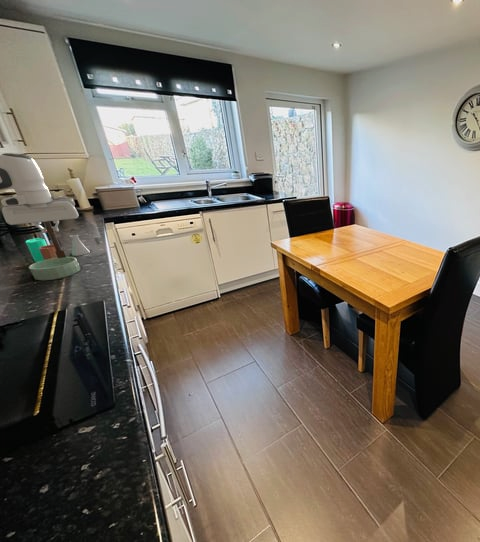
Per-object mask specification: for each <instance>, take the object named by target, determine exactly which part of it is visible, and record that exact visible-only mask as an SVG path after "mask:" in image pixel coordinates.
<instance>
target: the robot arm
mask: <svg viewBox="0 0 480 542" xmlns="http://www.w3.org/2000/svg"><path fill="white" fill-rule="evenodd" d="M5 190H6V191H7V190H14V193H15V195H10V196H9V197H5V198H3V199H1V200H0V203H1V204H2V206H3V207H2V209H1V211H2V215H3V218H4V221H5V223H6V224H8V225H10V226H15V225H23V224H24V225H25V224H33V225H34V226H35V227H36V228H38V229H39V230H40V231H41V233H42V234H46V233H47V234H48V232H47V229H46V227H43V226H42V225H41V223H43V222H46V221H50V222H52V223H53V224H55V225H54V226H52V229H53V232H54V233H56V232H59V231H60V229H59V224H60V221H65V220H75V219H79V216H80V215H79V212H78V210H77V208H76V207H75V206H76V202H75V200H74V199H73V198H72V197H70V196H67V195H63V196H52V194H51V192H50V190H49V188H48V186H47V185H46V183H45V178H44V175H43V173H42V171H41V169H40V166H39V165H38V164H37V162H36V161H35V160H34V159H33V158H32V157H31V156H29V155H26V154H22V153H11V152H10V153H9V152H5V153H1V154H0V191H5Z"/></svg>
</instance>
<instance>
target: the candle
mask: <svg viewBox="0 0 480 542" xmlns="http://www.w3.org/2000/svg"><path fill="white" fill-rule="evenodd" d="M25 244H26V247H27V248H28V250H29V252H30V254H31V256H32V258H33V261H34V263H36V262H39V261H43V260H44V258H43V256H42V254H41V252H40V249H39V247H42V246H46V245H48V244H47V242H46V241H45V238H41V237H36V238H35V237H34V236H33V237H32V238H30V239H27V240H25Z"/></svg>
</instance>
